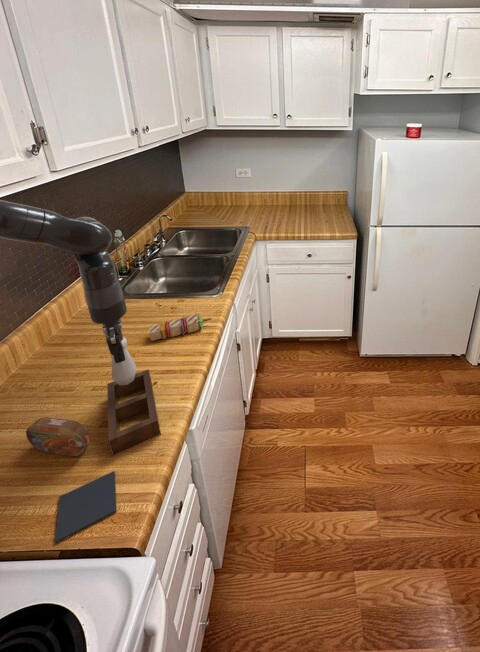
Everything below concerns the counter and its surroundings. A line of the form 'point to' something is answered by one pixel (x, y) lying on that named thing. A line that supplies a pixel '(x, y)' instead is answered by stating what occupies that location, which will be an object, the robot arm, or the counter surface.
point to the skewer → (177, 327)
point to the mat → (86, 506)
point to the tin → (59, 436)
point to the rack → (131, 413)
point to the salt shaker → (123, 367)
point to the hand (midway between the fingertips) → (120, 354)
